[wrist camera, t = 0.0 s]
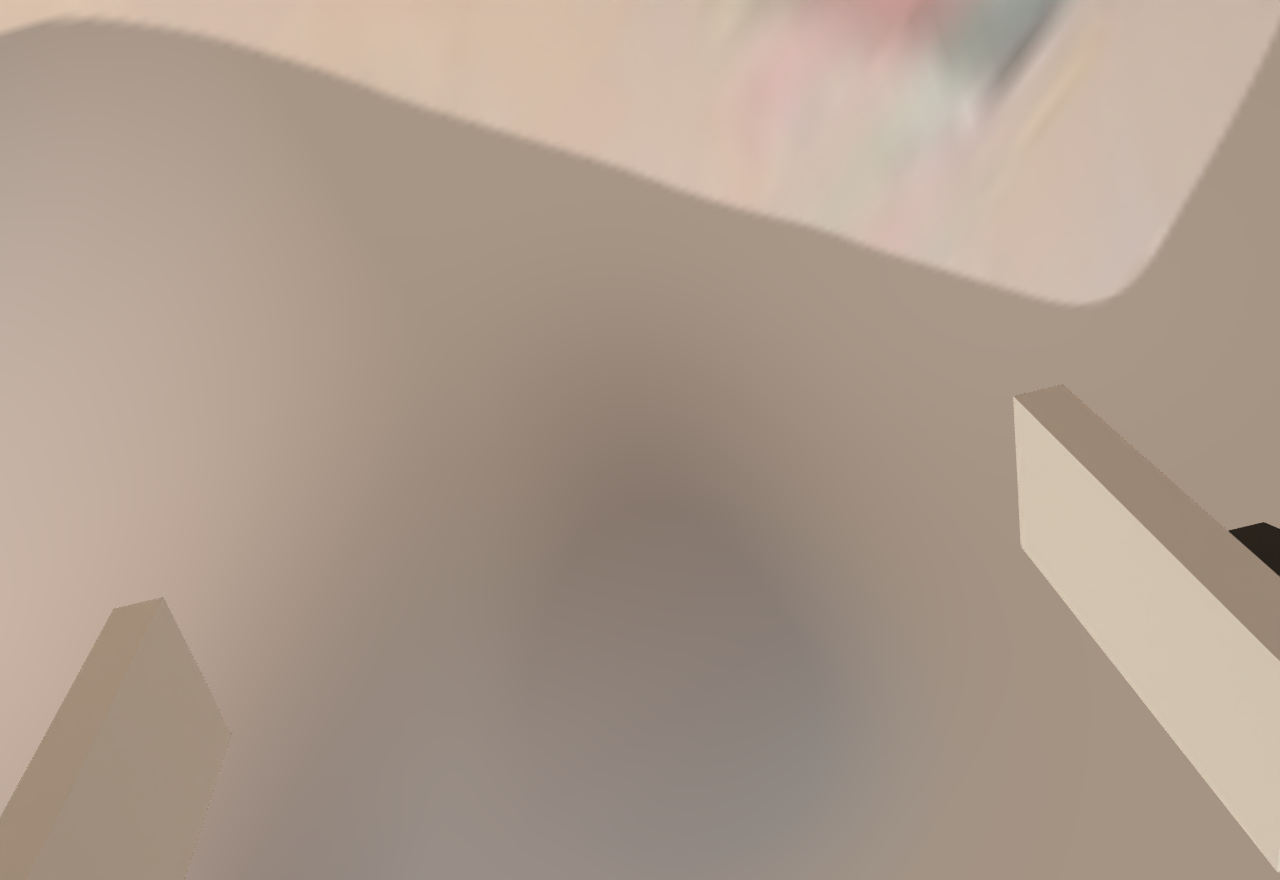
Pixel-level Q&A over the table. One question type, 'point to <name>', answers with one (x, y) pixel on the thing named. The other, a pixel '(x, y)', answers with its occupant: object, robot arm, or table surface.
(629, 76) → the table surface
